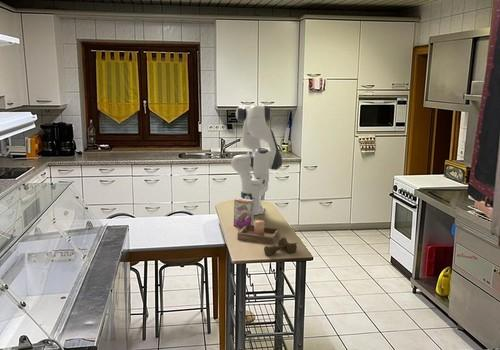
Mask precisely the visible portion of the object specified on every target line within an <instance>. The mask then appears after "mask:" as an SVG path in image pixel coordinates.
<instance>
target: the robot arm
mask: <svg viewBox="0 0 500 350" xmlns="http://www.w3.org/2000/svg"><path fill="white" fill-rule="evenodd" d="M235 118H236V120H237V122H239V123H242V124H243V128H242V129H243V130H242V145H243V147H244V148H246V149H248V150H250V151H251V153H250V154H248V153H247V154H245V153H243V154H238V155H234V156H233V157H231V160H230V161H231V162H230V164H231V168H232V169H233V170H234V172H236V173H237V174H238V175H239V177H240V181H241V191H240V198H242V199H249V200H254V216H256V215H257V216H258V215H263V214H264V212H265V209H266V207H265V206H264V205H262V204H263V203H262V201H264V200H265V195H266V193H267V192H268V189H269V182H270V170H273V171H277V170H278V169H280V168H281V167H282V165H283V157H282V155H281V152H280V150H279V146H278V143H277V139H276V137H275V134H274V131H273V130H272V129H271V128H270V127H269V126H268V125H267V123H268V122H269V121H271V118H272V110H271V108H270V107H269V106H268V105H260V104H252V105H251V104H250V105H249V104H247V105H239V106H238V107H237V108H236V111H235ZM261 140H263V141H265V142H266V143H267V144H268V147H269V149H267V148H265V147H262V146H261ZM251 172H252V175H251Z"/></svg>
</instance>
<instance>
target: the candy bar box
mask: <svg viewBox="0 0 500 350" xmlns="http://www.w3.org/2000/svg"><path fill="white" fill-rule="evenodd" d="M233 206H234V208H233V226H235V227H242V228H243V227H244V226H245V225H254V217H255V215H254V200H249V199H242V198H241V197H237V198H234V205H233Z"/></svg>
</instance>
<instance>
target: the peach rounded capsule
mask: <svg viewBox="0 0 500 350" xmlns="http://www.w3.org/2000/svg"><path fill="white" fill-rule="evenodd" d="M253 225H254V235H261V236H264V227H265V220H262V219H255V220H253Z"/></svg>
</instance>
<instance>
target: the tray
mask: <svg viewBox="0 0 500 350" xmlns="http://www.w3.org/2000/svg"><path fill="white" fill-rule="evenodd" d="M280 232H281V231H280V228H277V227H270V226H269V227H267V226H264V236H261V235H254V224H253V225H245V226H244V227H242V228H241V229H240V230H239V231H238V232H237V235H236V236H237V238H236V239H237V240H241V241H249V242H254V243H255V242H256V243H263V244H269V245H274V242H275V241H276V240H277V239H278V237H279V236H280Z"/></svg>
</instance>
